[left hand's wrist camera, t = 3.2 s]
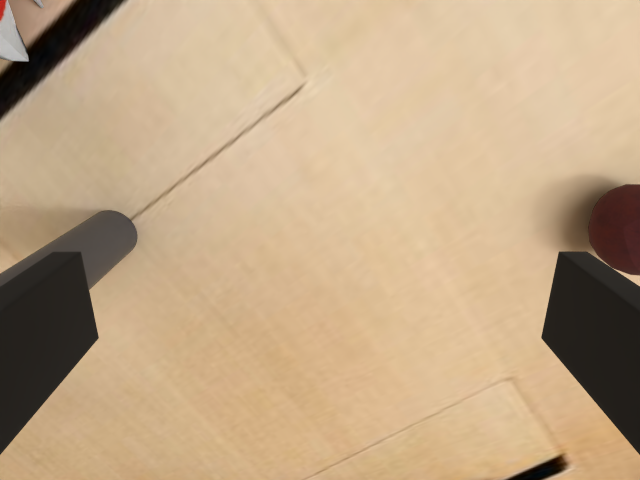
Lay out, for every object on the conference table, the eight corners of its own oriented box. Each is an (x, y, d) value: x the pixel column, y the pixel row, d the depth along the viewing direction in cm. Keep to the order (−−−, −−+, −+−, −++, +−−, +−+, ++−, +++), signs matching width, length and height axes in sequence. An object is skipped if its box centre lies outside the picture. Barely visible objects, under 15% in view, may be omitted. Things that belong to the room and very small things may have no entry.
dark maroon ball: (590, 268, 42) (639, 303, 36) (558, 203, 40) (604, 228, 34) (665, 228, 41) (731, 257, 34) (636, 158, 39) (701, 175, 32)
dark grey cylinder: (81, 214, 41) (-111, 327, 23) (128, 206, 41) (-29, 313, 22) (98, 259, 42) (-69, 397, 24) (143, 251, 42) (9, 385, 24)
